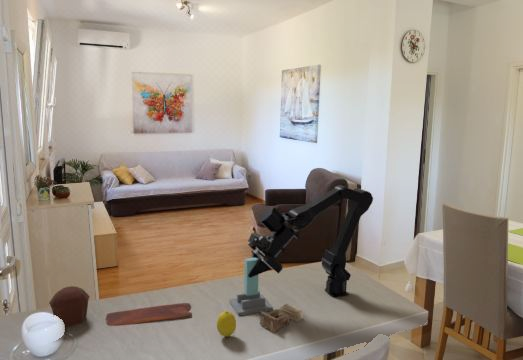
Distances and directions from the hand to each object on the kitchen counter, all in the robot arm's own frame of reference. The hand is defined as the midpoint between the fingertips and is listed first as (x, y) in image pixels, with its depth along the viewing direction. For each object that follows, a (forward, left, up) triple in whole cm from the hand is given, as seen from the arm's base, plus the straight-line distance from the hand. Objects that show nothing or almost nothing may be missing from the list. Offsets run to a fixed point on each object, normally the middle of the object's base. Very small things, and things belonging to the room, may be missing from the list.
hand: (247, 275), depth 139 cm
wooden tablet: (+31, -5, -12) cm, 34 cm away
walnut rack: (-4, +14, -11) cm, 18 cm away
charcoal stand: (-1, 0, -11) cm, 11 cm away
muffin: (+55, -9, -11) cm, 57 cm away
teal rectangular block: (-1, 0, -7) cm, 7 cm away
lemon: (+12, +16, -11) cm, 23 cm away
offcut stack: (-11, +10, -11) cm, 19 cm away
